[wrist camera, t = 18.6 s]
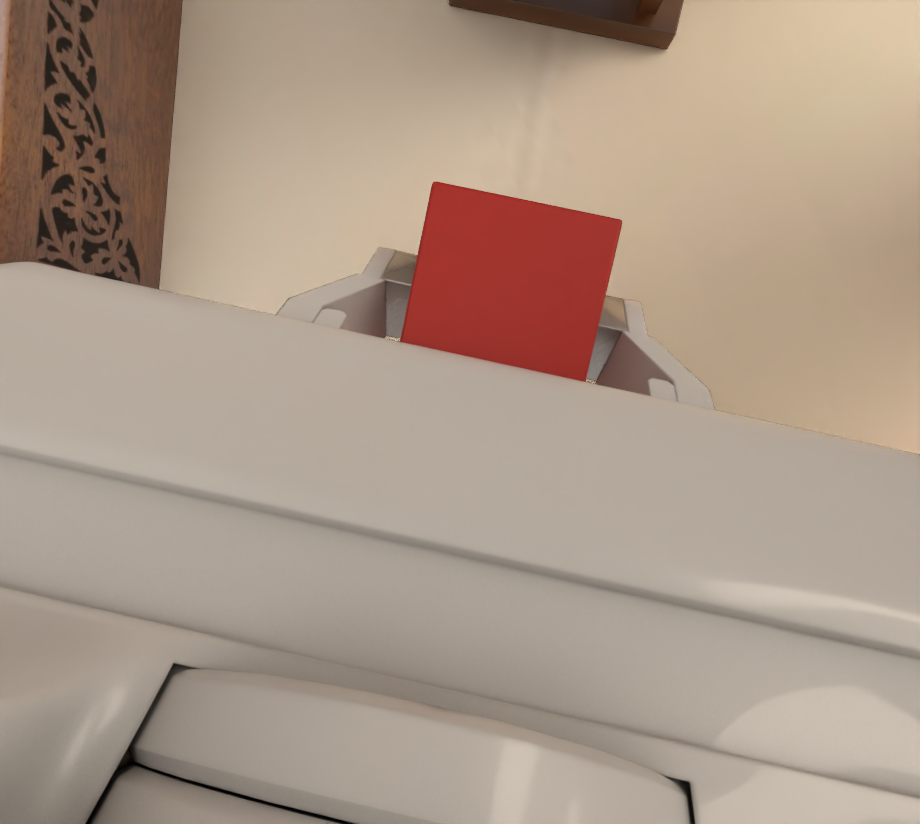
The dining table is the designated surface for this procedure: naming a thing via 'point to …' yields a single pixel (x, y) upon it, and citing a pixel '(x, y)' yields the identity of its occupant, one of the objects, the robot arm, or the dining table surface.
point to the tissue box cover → (87, 133)
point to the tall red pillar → (510, 280)
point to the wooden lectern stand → (594, 16)
